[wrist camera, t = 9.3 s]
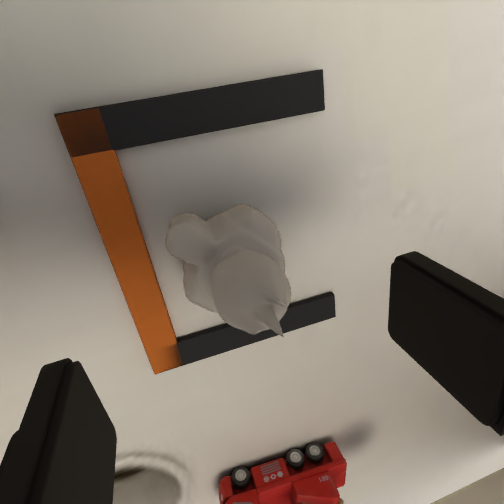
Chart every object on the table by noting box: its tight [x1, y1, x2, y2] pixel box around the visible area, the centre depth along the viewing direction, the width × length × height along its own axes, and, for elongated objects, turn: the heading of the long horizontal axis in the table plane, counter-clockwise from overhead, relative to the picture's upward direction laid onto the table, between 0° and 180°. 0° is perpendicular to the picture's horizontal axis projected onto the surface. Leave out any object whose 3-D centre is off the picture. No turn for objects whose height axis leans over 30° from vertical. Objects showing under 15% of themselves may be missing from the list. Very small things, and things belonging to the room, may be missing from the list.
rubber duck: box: [165, 204, 291, 337], centre depth 14 cm, size 5×7×8 cm
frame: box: [54, 69, 335, 374], centre depth 18 cm, size 15×12×1 cm
